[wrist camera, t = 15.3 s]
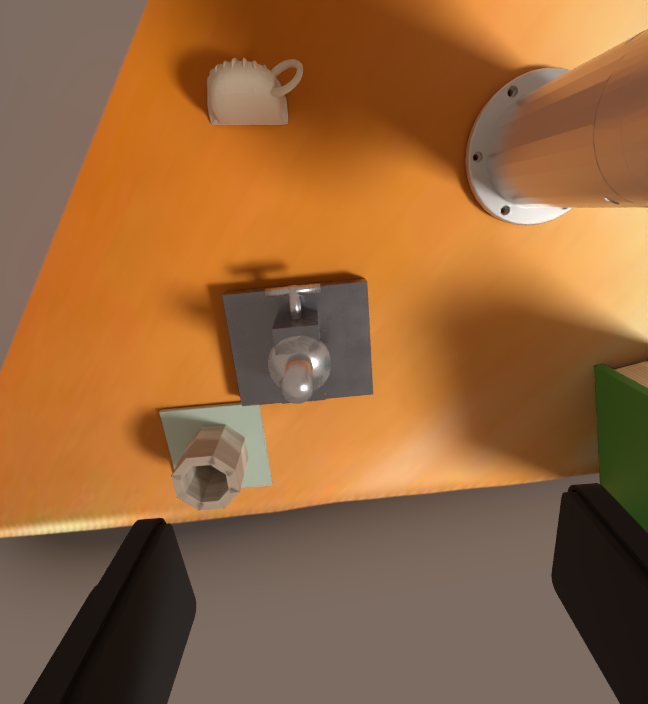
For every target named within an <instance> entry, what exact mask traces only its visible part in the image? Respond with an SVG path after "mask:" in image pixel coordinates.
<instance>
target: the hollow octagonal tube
mask: <svg viewBox="0 0 648 704" xmlns="http://www.w3.org/2000/svg"><path fill="white" fill-rule="evenodd" d="M248 458H249V457H248V451H247V446H246V440H245V437H243V436H242V435H241V434H239V433H238V432H236V431H235V430H233V429H232V428H230V427H229V426H227V425H226V424H225V425H215V426H204V427H202V428H201V429H200V430H199V431H198V432H197V434H196V435H195V436H194V437H193V438H192V440H191V441H190V442H189V443H188V445H187V447H186V449H185V451H184V453H183V455H182V456H181V458H180V460H179V462H178V464H177V466H176V468H175V470H174V471H173V473H172V475H171V477H172V480H173V484H174V488H175V492H176V496H177V498H179V499H180V500H182V501H184V502H185V503H187V504H189V505H190V506H192V507H194V508H195V509H197V510H211V509H222V508H225V507H226V506H227V505H228V504H229V503H230V502H231V500H232V499H233V498H234V497H235V496H236V495H237V494H238V493H239V492H240V488H241V484H242V480H243V477H244V473H245V469H246V465H247V462H248Z"/></svg>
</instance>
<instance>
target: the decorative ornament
mask: <svg viewBox="0 0 648 704" xmlns="http://www.w3.org/2000/svg"><path fill="white" fill-rule="evenodd" d="M289 68H296V69H297V72H296V74H295V76H294V78H293V79H292V80H291V81H290V82H289V83H287V84H286V85H284V86H282V87H281V83H280V81H279V80H278V79H277V76H278V75H279V74H280V73H281V72H283V71H284V70H286V69H289ZM302 76H303V66H302V64H301V62H299V61H298V60H295V59H289V60H285V61H283V62H281V63H279V64H277V65H276V66H275V67H274V68H272V69H271V70H269V69H268V68H267V67H266V66H265V64H264V65H260V64H258V63H257V62H256V61H255V60H253V61H252V62H250V61H247V60H246V59H245V58H243V59H242V61H239V60H238V59H237V58H233V59H232V60H231V62H228V61H226V60H225V61H224V62H223V64H219V63H218V64H217V65H216V67H215V68H214V69H211V70H210V75H209V76H208V78H207V92H208V96H207V106H208V112H209V116H210V120H211V123H212V125H285V124H288V108H287V100H286V97H285V94H287V93H289V92H290V91H291V90H293V89H294V88H295V87H296V86H297V85H298V83H299V82H300V80H301V78H302Z"/></svg>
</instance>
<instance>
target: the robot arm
mask: <svg viewBox="0 0 648 704" xmlns="http://www.w3.org/2000/svg"><path fill="white" fill-rule="evenodd" d="M508 91H509V92H510V97H509V96H508V93H507V92H508ZM474 155H476V157H477V158H476V160H475V161H474V160H473V156H474ZM465 165H466V174H467V179H468V182H469V186H470V189H471V191H472V193H473V195H474V197H475V199H476V200H477V202H478V203H479V204H480V205H481V206H482V208H483V209H484V210H485V211H487V212H488V213H489V214H490V215H492V216H493V217H495V218H497V219H499V220H501V221H503V222H507V223H511V224H516V225H535V224H541V223H545V222H548V221H552V220H554V219H556V218H558V217H560V216H562V215H564V214H565V213H567V212H568V211H570V210H571V209H572V208H648V29H647V30H645V31H643V32H641V33H640V34H638V35H636V36H634V37H632V38H630V39H628V40H627V41H625V42H623V43H621V44H619V45H617V46H616V47H614V48H612V49H610V50H608V51H606V52H604V53H603V54H601V55H599V56H597V57H595V58H593V59H591V60H590V61H588V62H586V63H584V64H582V65H580V66H578V67H576V68H575V69H573V70H568V69H564V68H551V67H546V68H541V69H537V70H532V71H530V72H527V73H525V74H523V75H520V76H518V77H516V78H515V79H513V80H512V81H510V82H508V83H507V84H506V85H504V86H503V87H502V88H501V89H499V90H498V91H497V92H496V93H495V94H494V95H493V96H492V97H491V98H490V99H489V100H488V102H487V103H486V104H485V105H484V107H483V108H482V110H481V111H480V113H479V115H478V116H477V118H476V120H475V122H474V124H473V127H472V129H471V132H470V135H469V139H468V143H467V147H466V159H465ZM501 208H503V212H502V213H501ZM552 583H553V586H554V589H555V591H556V593H557V595H558V597H559V598H560V600H561V602H562V604H563V605H564V607H565V609H566V611H567V612H568V614H569V616H570V618H571V619H572V621H573V623H574V624H575V626H576V628H577V630H578V631H579V633H580V635H581V637H582V638H583V640H584V642H585V644H586V645H587V647H588V649H589V650H590V652H591V654H592V656H593V657H594V659H595V661H596V663H597V664H598V666H599V668H600V670H601V671H602V673H603V675H604V677H605V678H606V680H607V682H608V684H609V685H610V687H611V688H612V690H613V692H614V694H615V696H616V697H617V699H618V701H619V703H620V704H648V533H647V532H646V531H645V530H644V529H643V528H642V526H641V525H640V524H639V523H638V522H637V521H636V520H635V519H634V518H633V517H632V516H631V515H630V514H629V513H628V512H627V511H626V510H625V509H624V508H623V507H622V505H621V504H620V503H619V502H618V501H617V500H616V499H615V498H614V497H613V496H612V495H611V494H610V493H609V492H608V491H607V490H606V489H605V488H604V487H603V486H602V485H601V484H598V483H594V484H581V485H571V486H570V487H569V489H568V492H565V493H563V494H562V498H561V505H560V513H559V521H558V528H557V536H556V544H555V552H554V559H553V567H552ZM195 613H196V599H195V596H194V593H193V589H192V586H191V583H190V580H189V577H188V574H187V571H186V568H185V564H184V561H183V558H182V555H181V552H180V549H179V546H178V543H177V539H176V536H175V533H174V530H173V527H172V525H171V524H166V522H165V520H164V519H163V518H155V519H142V520H138V521H136V522H135V523H134V525H133V526H132V528H131V530H130V532H129V533H128V535H127V536H126V538H125V540H124V541H123V543H122V545H121V546H120V548H119V550H118V552H117V553H116V555H115V557H114V558H113V560H112V562H111V564H110V565H109V567H108V568H107V570H106V572H105V573H104V575H103V577H102V578H101V580H100V582H99V583H98V585H97V586H95V587H94V589H93V590H92V591H91V593H90V594H89V596H88V597H87V599H86V601H85V602H84V604H83V606H82V607H81V609H80V611H79V612H78V614H77V616H76V617H75V619H74V621H73V622H72V624H71V626H70V627H69V629H68V631H67V633H66V634H65V636H64V637H63V639H62V641H61V642H60V644H59V646H58V647H57V649H56V651H55V652H54V654H53V656H52V657H51V659H50V660H49V662H48V664H47V665H46V667H45V669H44V670H43V672H42V674H41V675H40V677H39V679H38V681H37V682H36V684H35V685H34V687H33V689H32V690H31V692H30V694H29V695H28V697H27V699H26V700H25V702H24V704H167V702H168V699H169V696H170V693H171V690H172V687H173V684H174V680H175V677H176V674H177V671H178V668H179V665H180V661H181V658H182V655H183V652H184V649H185V646H186V643H187V640H188V636H189V633H190V630H191V627H192V624H193V621H194V618H195Z"/></svg>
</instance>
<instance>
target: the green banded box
mask: <svg viewBox="0 0 648 704" xmlns="http://www.w3.org/2000/svg"><path fill="white" fill-rule="evenodd" d="M594 372H595V392H596V412H597V433H598V453H599V473H600V484H601V485H602V486H603V487H604V488H605V489H606V490H607V491H608V492H609V493H610V494H611V495H612V496H613V497H614V498H615V499H616V500H617V501H618V502H619V503H620V504H621V505H622V507H623V508H624V509H625V510H626V511H627V512H628V513H629V514H630V515H631V516H632V517H633V518H634V519H635V520H636V521H637V522H638V523H639V524H640V525H641V526H642V528H643V529H644V530H645V531H646V532H647V533H648V361H646V362H642V363H638V364H634V365H630V366H626V367H622V368H618V369H612V368H610V367H608V366H606V365H604V364H599V365H595V366H594Z"/></svg>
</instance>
